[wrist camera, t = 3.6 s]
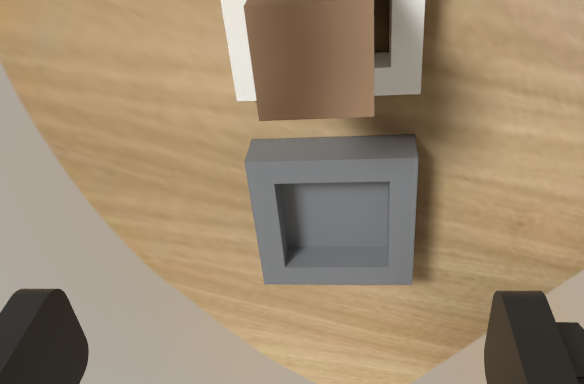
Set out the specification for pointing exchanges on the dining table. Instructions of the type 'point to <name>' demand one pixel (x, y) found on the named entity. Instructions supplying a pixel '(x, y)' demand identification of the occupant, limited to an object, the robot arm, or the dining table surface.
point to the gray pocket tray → (335, 208)
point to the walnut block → (312, 58)
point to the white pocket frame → (387, 65)
